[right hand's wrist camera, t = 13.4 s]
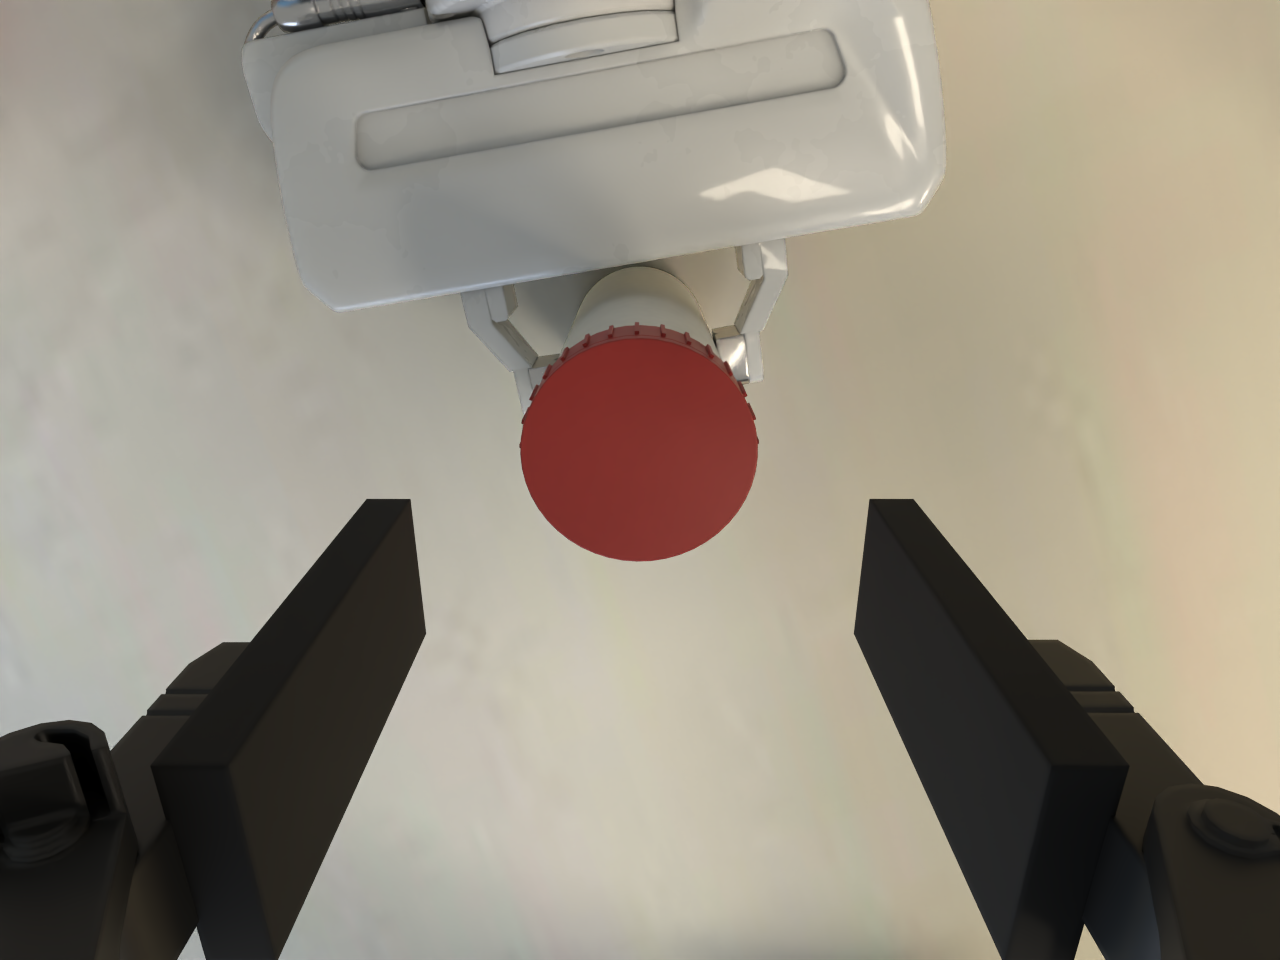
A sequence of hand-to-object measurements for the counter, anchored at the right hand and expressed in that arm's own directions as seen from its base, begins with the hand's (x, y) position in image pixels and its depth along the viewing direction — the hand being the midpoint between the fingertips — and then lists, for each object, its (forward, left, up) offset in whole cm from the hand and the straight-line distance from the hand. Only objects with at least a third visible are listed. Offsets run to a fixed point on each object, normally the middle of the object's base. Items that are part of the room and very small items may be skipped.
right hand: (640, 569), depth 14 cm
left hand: (-1, +1, -14) cm, 14 cm away
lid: (0, 0, -6) cm, 6 cm away
